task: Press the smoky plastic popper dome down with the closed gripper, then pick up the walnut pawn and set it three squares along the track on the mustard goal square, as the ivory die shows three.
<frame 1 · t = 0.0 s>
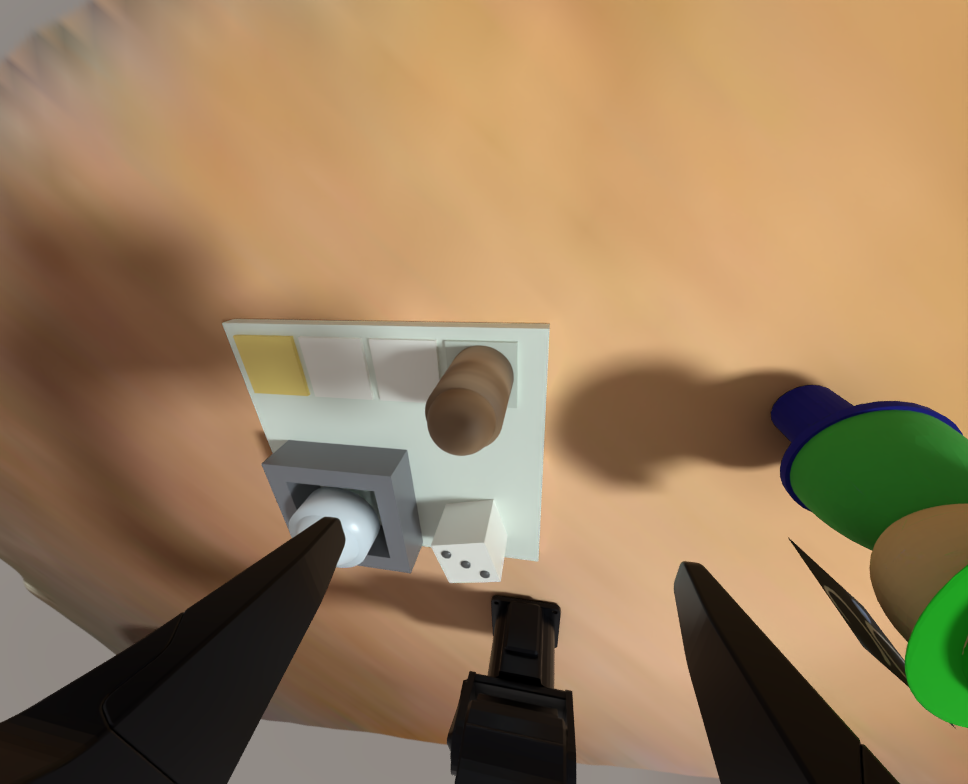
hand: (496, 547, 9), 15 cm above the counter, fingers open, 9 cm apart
toy: (816, 424, 21), on the counter
pawn: (481, 375, 22), point 1 cm above the counter, touching board
die: (477, 520, 29), point 1 cm above the counter, touching board
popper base: (364, 485, 31), resting on board
dome: (336, 526, 27), point 4 cm above the counter, slide at 0.0 cm
board: (400, 446, 28), on the counter
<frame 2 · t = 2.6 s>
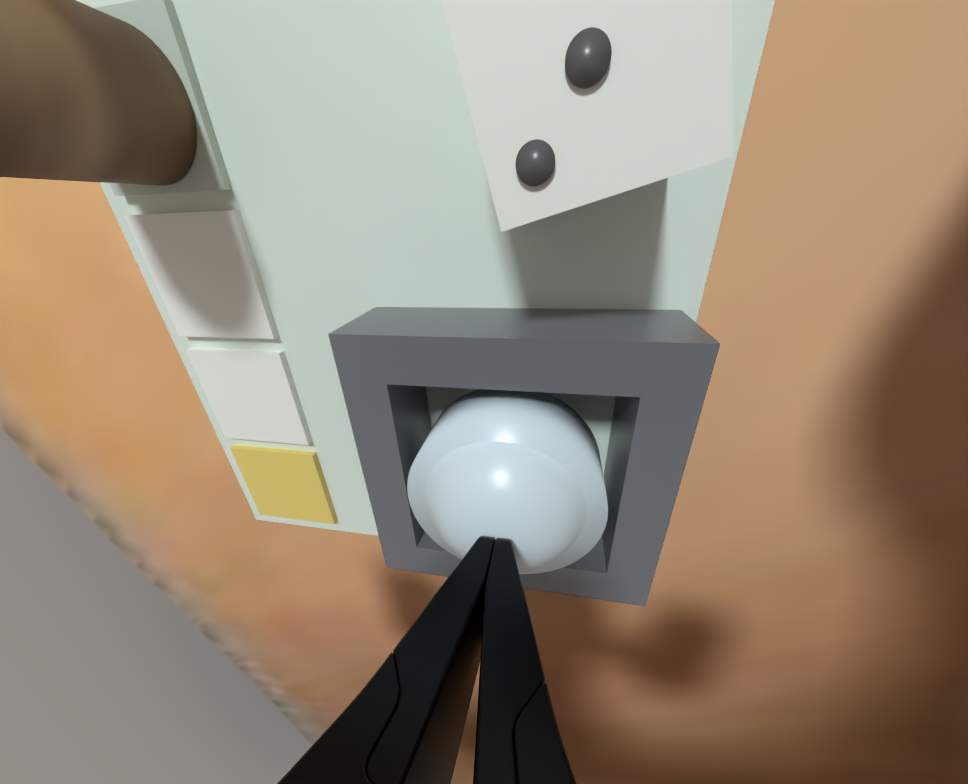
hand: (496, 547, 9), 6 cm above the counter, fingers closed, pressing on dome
pawn: (134, 108, 11), point 1 cm above the counter, touching board
die: (576, 114, 9), point 1 cm above the counter, touching board
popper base: (518, 420, 15), resting on board
dome: (507, 480, 12), point 4 cm above the counter, slide at -0.8 cm, touching board, gripper
board: (403, 326, 14), on the counter
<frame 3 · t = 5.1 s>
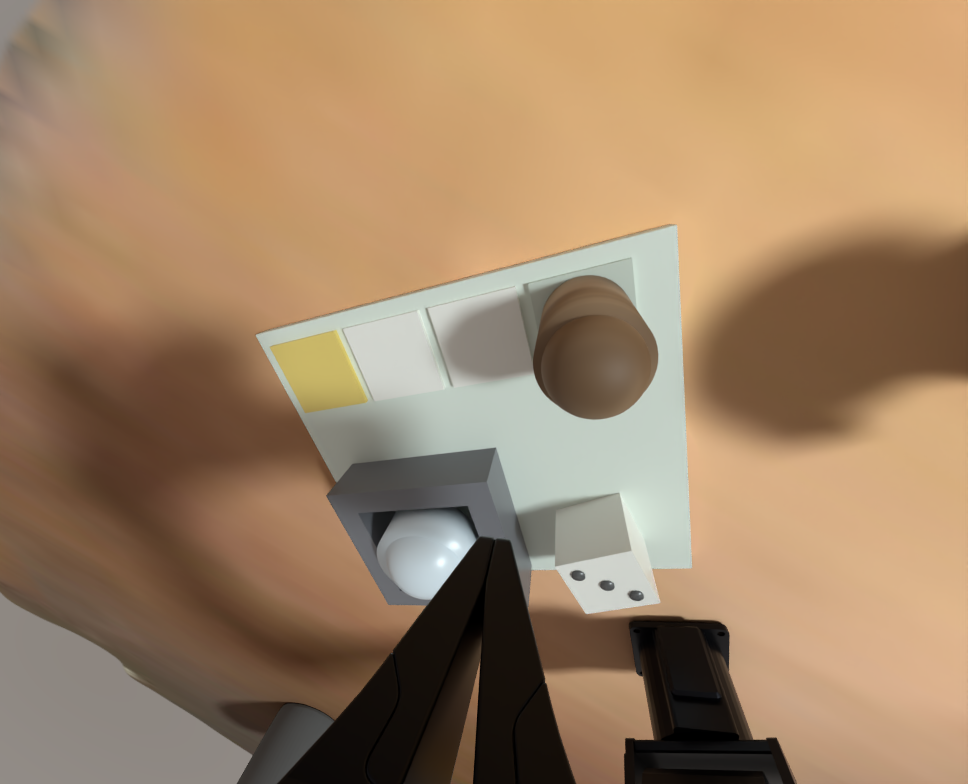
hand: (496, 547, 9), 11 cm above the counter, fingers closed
pawn: (585, 320, 16), point 1 cm above the counter, touching board
die: (599, 524, 22), point 1 cm above the counter, touching board
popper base: (448, 505, 25), resting on board
mug: (321, 726, 50), on the counter
dome: (431, 548, 22), point 4 cm above the counter, slide at -0.8 cm, touching board
board: (485, 446, 22), on the counter
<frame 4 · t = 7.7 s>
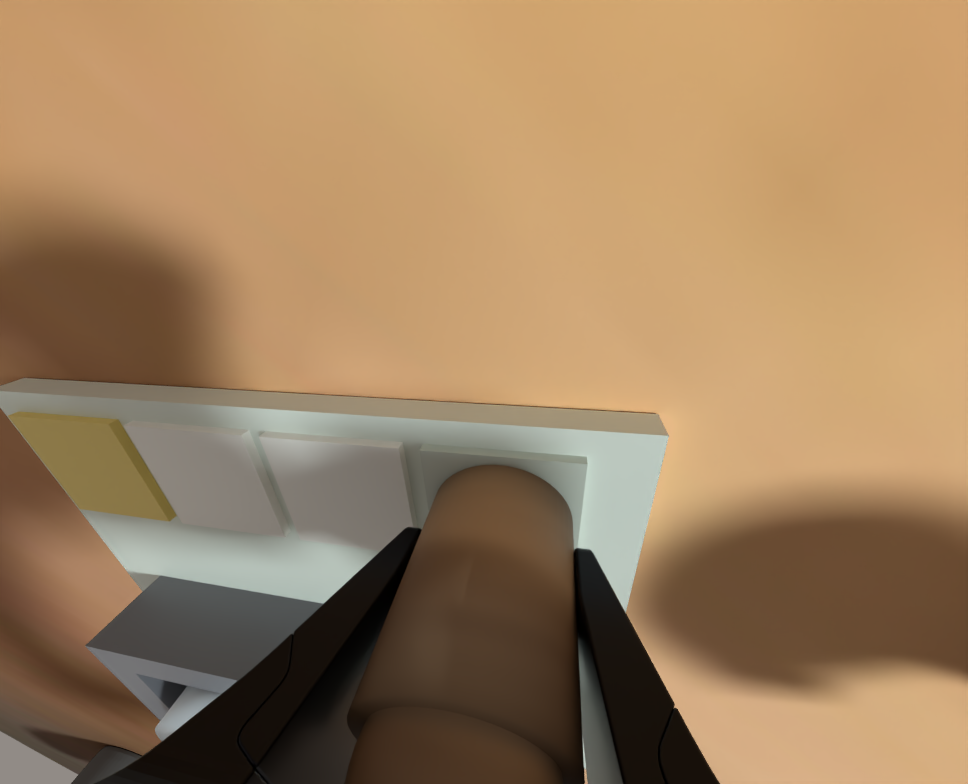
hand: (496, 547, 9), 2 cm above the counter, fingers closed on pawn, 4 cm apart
pawn: (501, 519, 10), point 1 cm above the counter, touching board, gripper
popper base: (300, 633, 19), resting on board
mug: (153, 769, 42), on the counter
dome: (247, 722, 15), point 4 cm above the counter, slide at -0.8 cm, touching board
board: (352, 590, 16), on the counter
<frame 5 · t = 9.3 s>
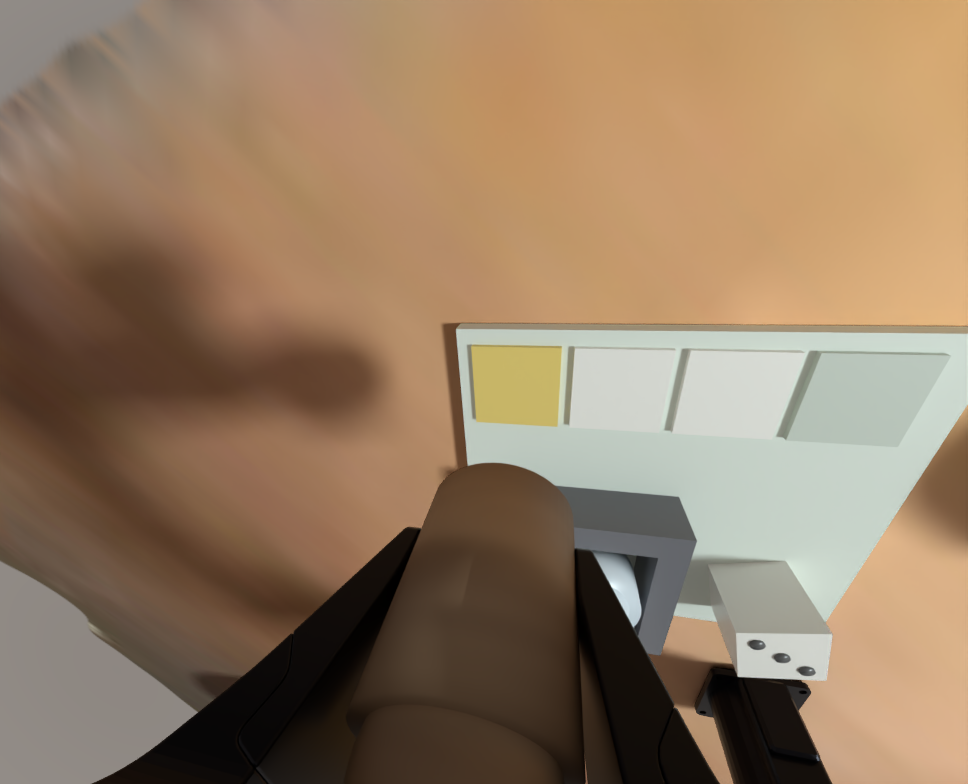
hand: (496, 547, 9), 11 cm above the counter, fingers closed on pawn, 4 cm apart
pawn: (501, 517, 10), point 10 cm above the counter, touching gripper
die: (746, 584, 22), point 1 cm above the counter, touching board
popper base: (578, 535, 24), resting on board
dome: (581, 586, 21), point 4 cm above the counter, slide at -0.8 cm, touching board
board: (653, 489, 21), on the counter
when the fingers open (3 cm above the counter, at t = 10.9 s): pawn stays where it is, resting on board.
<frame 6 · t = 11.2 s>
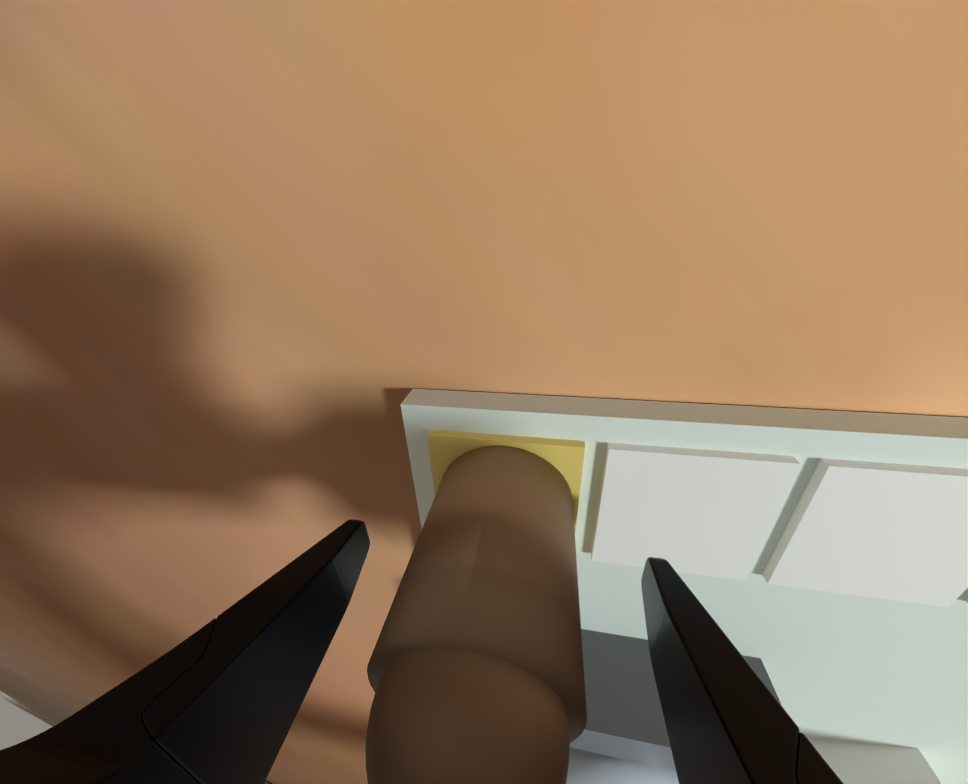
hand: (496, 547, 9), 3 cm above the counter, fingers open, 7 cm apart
pawn: (504, 499, 11), point 1 cm above the counter, touching board
die: (845, 765, 15), point 1 cm above the counter, touching board
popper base: (595, 672, 17), resting on board
board: (714, 631, 14), on the counter
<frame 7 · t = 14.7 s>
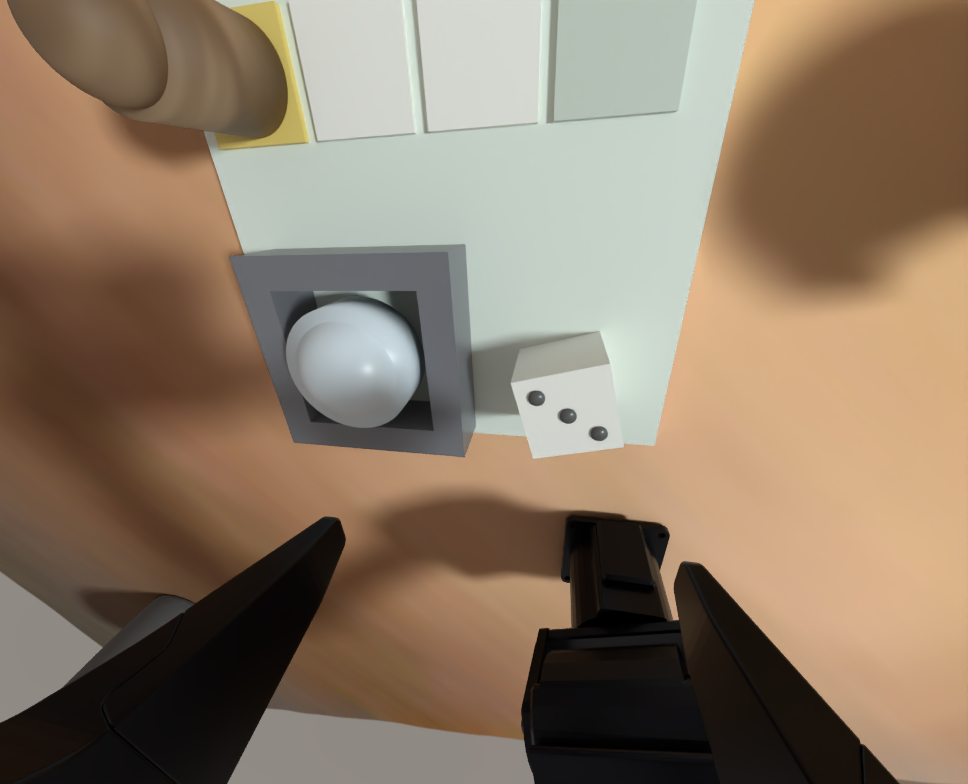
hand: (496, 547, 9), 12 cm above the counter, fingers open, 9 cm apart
pawn: (242, 79, 15), point 1 cm above the counter, touching board
die: (566, 375, 19), point 1 cm above the counter, touching board
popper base: (390, 337, 21), resting on board
mug: (200, 626, 44), on the counter
dome: (359, 362, 17), point 4 cm above the counter, slide at -0.8 cm, touching board
board: (451, 253, 18), on the counter
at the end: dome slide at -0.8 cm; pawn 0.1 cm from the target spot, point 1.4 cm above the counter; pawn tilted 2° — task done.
